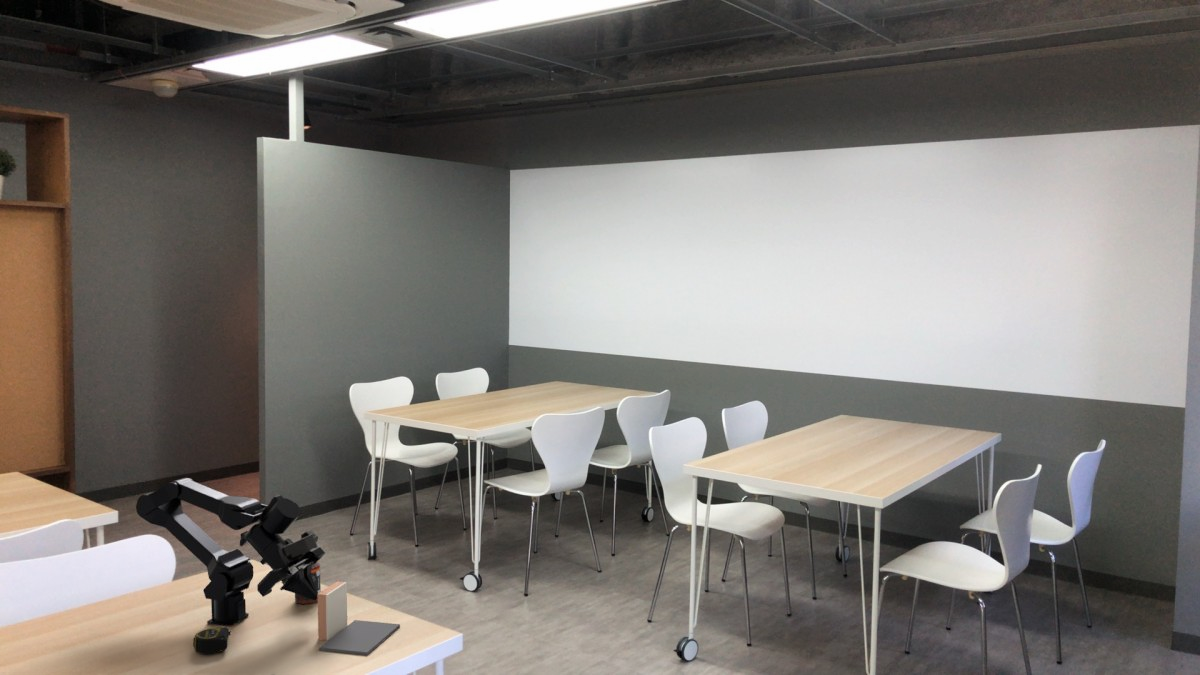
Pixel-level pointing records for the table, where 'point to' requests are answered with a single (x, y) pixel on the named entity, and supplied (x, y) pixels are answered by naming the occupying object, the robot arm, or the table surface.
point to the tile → (332, 610)
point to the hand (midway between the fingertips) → (317, 598)
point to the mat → (360, 637)
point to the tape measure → (211, 640)
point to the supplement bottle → (316, 578)
